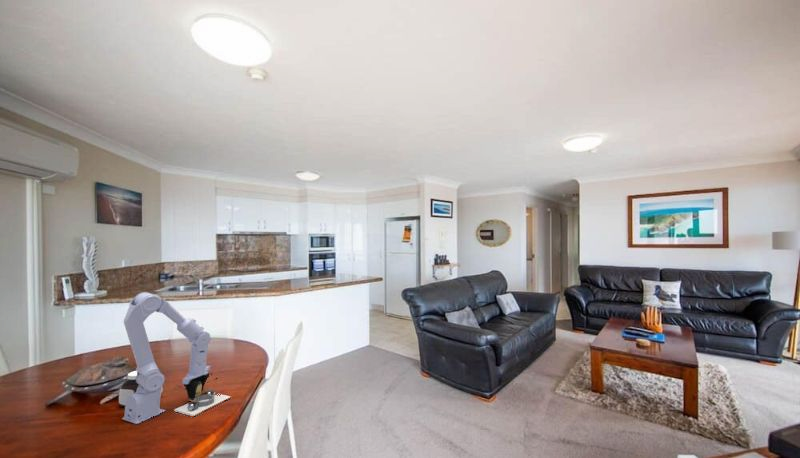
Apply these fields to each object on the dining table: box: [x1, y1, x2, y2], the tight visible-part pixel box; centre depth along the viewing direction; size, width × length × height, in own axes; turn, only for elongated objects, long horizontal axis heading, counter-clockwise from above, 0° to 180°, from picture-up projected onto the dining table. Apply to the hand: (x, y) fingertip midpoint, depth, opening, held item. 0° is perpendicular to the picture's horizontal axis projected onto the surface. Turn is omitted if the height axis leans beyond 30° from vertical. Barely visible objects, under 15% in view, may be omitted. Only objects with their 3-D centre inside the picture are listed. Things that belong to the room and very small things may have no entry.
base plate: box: [173, 392, 231, 416], centre depth 120 cm, size 16×10×3 cm, turn 161°
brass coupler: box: [188, 381, 202, 401], centre depth 125 cm, size 4×4×7 cm
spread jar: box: [118, 370, 164, 408], centre depth 123 cm, size 12×11×12 cm
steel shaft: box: [187, 401, 199, 411], centre depth 115 cm, size 3×3×2 cm
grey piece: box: [204, 389, 215, 395], centre depth 126 cm, size 3×3×2 cm
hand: (195, 395), depth 125 cm, fingers closed on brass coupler, 4 cm apart
